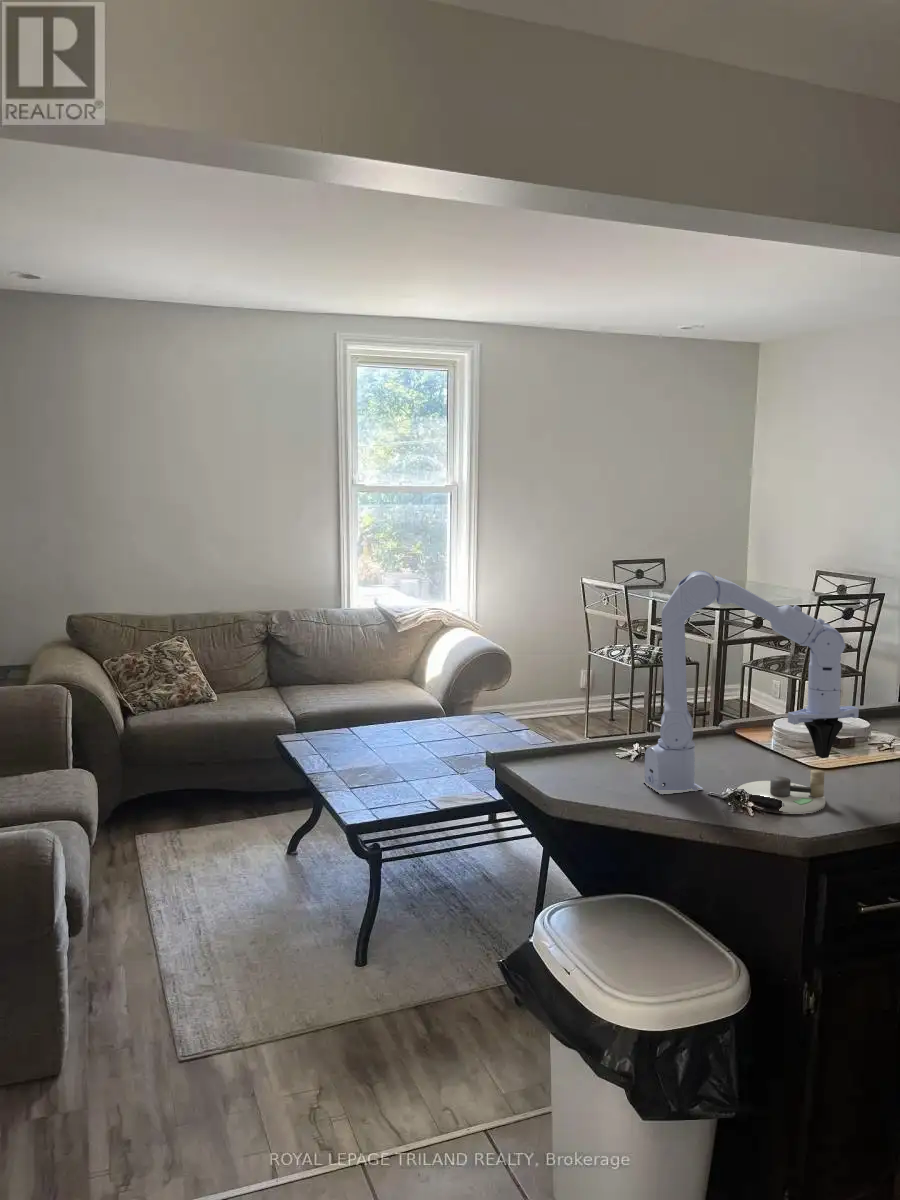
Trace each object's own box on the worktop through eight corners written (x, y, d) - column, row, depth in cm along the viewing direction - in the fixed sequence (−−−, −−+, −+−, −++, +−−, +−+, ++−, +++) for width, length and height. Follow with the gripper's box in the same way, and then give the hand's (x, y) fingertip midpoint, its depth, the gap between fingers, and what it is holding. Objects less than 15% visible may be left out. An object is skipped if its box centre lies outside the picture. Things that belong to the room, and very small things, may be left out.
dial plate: (768, 819, 156) (768, 812, 156) (720, 790, 172) (720, 784, 171) (844, 809, 160) (844, 803, 160) (790, 782, 175) (790, 776, 175)
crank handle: (770, 795, 164) (770, 771, 164) (769, 789, 168) (770, 765, 167) (824, 800, 161) (825, 775, 161) (822, 793, 165) (823, 769, 164)
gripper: (841, 680, 171) (839, 747, 172) (778, 686, 167) (776, 754, 169) (867, 688, 164) (865, 757, 166) (802, 694, 160) (800, 765, 162)
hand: (822, 756), depth 167 cm, fingers closed
